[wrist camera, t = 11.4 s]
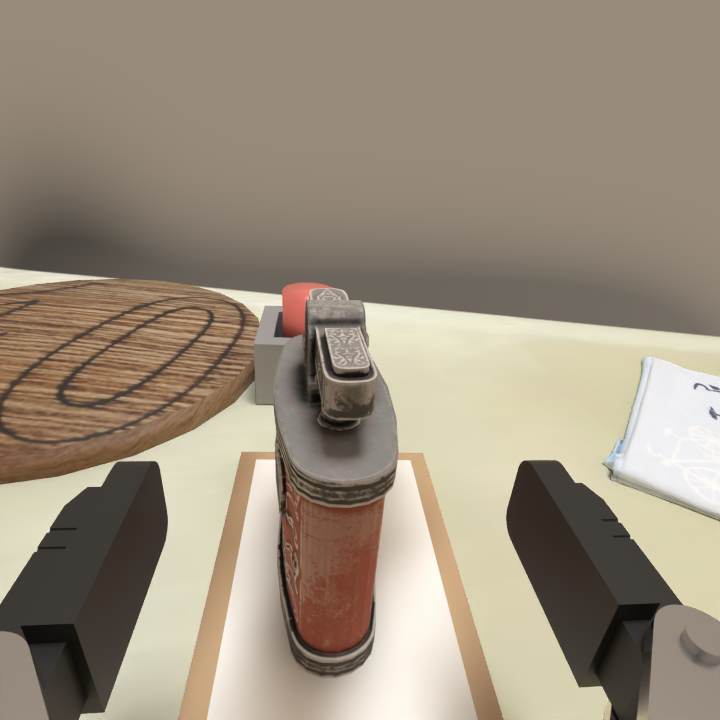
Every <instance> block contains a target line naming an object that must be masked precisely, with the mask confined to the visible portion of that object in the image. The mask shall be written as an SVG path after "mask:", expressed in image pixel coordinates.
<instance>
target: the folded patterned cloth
mask: <svg viewBox="0 0 720 720" xmlns="http://www.w3.org/2000/svg"><path fill="white" fill-rule="evenodd" d="M602 464H603V465H605V466H606V467H608V468H609V469H611V470H612V472H613V475H612V476H611V477H610V479H611V480H612V481H616V482H619V483H622V484H624V485H627V486H630V487H632V488H635V489H638V490H640V491H643V492H646V493H648V494H651V495H654V496H657V497H659V498H662V499H665V500H668V501H671V502H673V503H676V504H679V505H681V506H684V507H686V508H689V509H691V510H694V511H696V512H699V513H701V514H704V515H707V516H709V517H712V518H715V519H717V520H720V377H717V376H713V375H709V374H705V373H701V372H697V371H692V370H688V369H684V368H682V367H680V366H678V365H676V364H673V363H670V362H668V361H665V360H662V359H659V358H655V357H654V358H652V357H644V358H643V359H642V373H641V379H640V383H639V387H638V390H637V394H636V397H635V401H634V403H633V406H632V410H631V414H630V418H629V422H628V425H627V429H626V433H625V437H624V440H621V439H618V441H617V442H616V446H615V448H614V450H613V453H612V454H611V455H610V456H609V457H608V458H607V460H606V461H604V462H603V463H602Z"/></svg>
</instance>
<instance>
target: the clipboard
mask: <svg viewBox="0 0 720 720" xmlns="http://www.w3.org/2000/svg"><path fill="white" fill-rule="evenodd" d="M279 520H280V513H279V504H278V495H277V486H276V467H275V452H242V453H241V457H240V461H239V465H238V469H237V474H236V478H235V482H234V486H233V491H232V495H231V499H230V503H229V507H228V512H227V516H226V520H225V524H224V528H223V533H222V537H221V541H220V545H219V550H218V554H217V558H216V562H215V566H214V571H213V575H212V579H211V583H210V587H209V592H208V596H207V600H206V604H205V608H204V613H203V617H202V621H201V625H200V630H199V634H198V638H197V642H196V646H195V651H194V655H193V659H192V663H191V667H190V672H189V676H188V680H187V684H186V689H185V693H184V697H183V701H182V705H181V710H180V714H179V718H178V720H503V717H502V713H501V710H500V707H499V704H498V700H497V697H496V694H495V690H494V687H493V684H492V680H491V677H490V674H489V670H488V667H487V664H486V661H485V657H484V654H483V651H482V647H481V644H480V641H479V637H478V634H477V631H476V627H475V624H474V621H473V617H472V614H471V611H470V608H469V604H468V601H467V598H466V594H465V591H464V588H463V584H462V581H461V578H460V574H459V571H458V568H457V565H456V561H455V558H454V555H453V551H452V548H451V545H450V541H449V538H448V535H447V531H446V528H445V525H444V522H443V518H442V515H441V512H440V508H439V505H438V502H437V498H436V495H435V492H434V488H433V485H432V482H431V478H430V475H429V472H428V469H427V465H426V462H425V459H424V455H423V453H399V454H398V461H397V469H396V477H395V481H394V484H393V488H392V489H391V490H390V491H389V492H388V493H387V494H386V495H385V501H384V509H383V518H382V526H381V534H380V542H379V551H378V559H377V567H376V575H375V576H376V628H375V636H374V643H373V647H372V652H371V655H370V656H369V657H368V659H367V660H366V662H365V663H364V665H363V666H361V667H360V668H358V669H357V670H355V671H354V672H353V673H351V674H348V675H345V676H341V677H338V678H322V677H318V676H316V675H313V674H310V673H308V672H306V671H305V670H304V669H303V668H302V667H301V666H299V665H298V664H297V663H296V661H295V659H294V657H293V655H292V652H291V649H290V645H289V640H288V636H287V631H286V627H285V623H284V618H283V614H282V609H281V602H280V591H279V579H278V568H277V544H278V532H279Z"/></svg>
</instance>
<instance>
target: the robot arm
mask: <svg viewBox="0 0 720 720" xmlns="http://www.w3.org/2000/svg"><path fill="white" fill-rule="evenodd" d="M506 521H507V529H508V533H509V536H510V539H511V541H512V543H513V545H514V548H515V550H516V552H517V554H518V556H519V558H520V561H521V563H522V565H523V567H524V569H525V571H526V574H527V576H528V578H529V580H530V582H531V584H532V586H533V589H534V591H535V593H536V595H537V597H538V599H539V602H540V604H541V606H542V608H543V610H544V612H545V615H546V617H547V619H548V621H549V623H550V625H551V627H552V630H553V632H554V634H555V636H556V638H557V640H558V643H559V645H560V647H561V649H562V651H563V653H564V656H565V658H566V660H567V662H568V664H569V666H570V669H571V671H572V673H573V675H574V677H575V679H576V681H577V684H578V686H579V687H594V686H602V687H603V689H604V691H605V693H606V695H607V697H608V699H609V701H608V703H607V705H606V708H605V712H604V719H603V720H720V622H719V621H718V620H716V619H715V618H713V617H711V616H710V615H708V614H706V613H704V612H702V611H700V610H697V609H695V608H692V607H688V606H684V605H683V604H682V603H681V602H680V600H679V599H678V598H677V597H676V595H675V594H674V593H673V591H672V590H671V589H670V587H669V586H668V585H667V583H666V582H665V581H664V579H663V578H662V577H661V575H660V574H659V573H658V571H657V570H656V569H655V567H654V566H653V565H652V563H651V562H650V561H649V559H648V558H647V557H646V555H645V554H644V553H643V552H642V550H641V549H640V548H639V546H638V545H637V544H636V542H635V541H634V540H633V539H630V534H629V533H628V532H627V530H626V529H625V528H624V526H623V525H622V524H621V523H618V518H617V517H616V516H615V514H614V513H613V512H612V510H611V509H610V508H609V506H608V505H607V504H606V503H605V501H604V500H603V499H602V498H601V497H599V496H598V495H597V494H595V493H594V492H593V491H592V490H590V489H589V488H588V487H586V486H585V485H584V484H583V483H575V482H574V481H573V479H572V478H571V477H570V475H569V474H568V472H567V471H566V470H565V468H564V467H563V465H562V464H561V463H560V462H558V461H556V460H529V461H523V462H521V464H520V466H519V468H518V472H517V476H516V479H515V483H514V486H513V490H512V494H511V497H510V501H509V505H508V508H507V515H506ZM167 526H168V516H167V509H166V503H165V497H164V491H163V485H162V480H161V474H160V468H159V465H158V463H157V462H155V461H131V462H117V463H116V464H115V465H114V466H113V468H112V469H111V471H110V473H109V475H108V476H107V478H106V480H105V481H104V483H103V485H102V486H101V487H87V488H86V489H85V490H83V491H82V492H81V493H80V494H78V495H77V496H76V497H75V498H74V499H72V500H71V501H70V502H69V503H68V504H66V505H65V506H64V507H63V509H62V511H61V512H60V514H59V515H58V517H57V518H56V520H55V521H54V523H53V524H52V526H51V527H50V532H49V533H47V534H46V535H45V537H44V538H43V540H42V541H41V543H40V544H39V546H38V550H37V552H34V553H33V555H32V557H31V558H30V560H29V561H28V563H27V564H26V566H25V567H24V569H23V570H22V572H21V573H20V575H19V577H18V578H17V580H16V581H15V583H14V584H13V586H12V587H11V589H10V590H9V592H8V593H7V595H6V596H5V598H4V600H3V601H2V603H1V604H0V720H79V717H80V715H81V714H84V713H102V712H105V709H106V706H107V703H108V700H109V698H110V695H111V692H112V689H113V686H114V684H115V681H116V678H117V675H118V672H119V670H120V667H121V664H122V661H123V658H124V656H125V653H126V650H127V647H128V644H129V642H130V639H131V636H132V633H133V630H134V628H135V625H136V622H137V619H138V616H139V614H140V611H141V608H142V605H143V602H144V600H145V597H146V594H147V591H148V589H149V586H150V583H151V580H152V577H153V575H154V572H155V569H156V566H157V563H158V561H159V558H160V555H161V552H162V549H163V547H164V543H165V540H166V534H167Z"/></svg>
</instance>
